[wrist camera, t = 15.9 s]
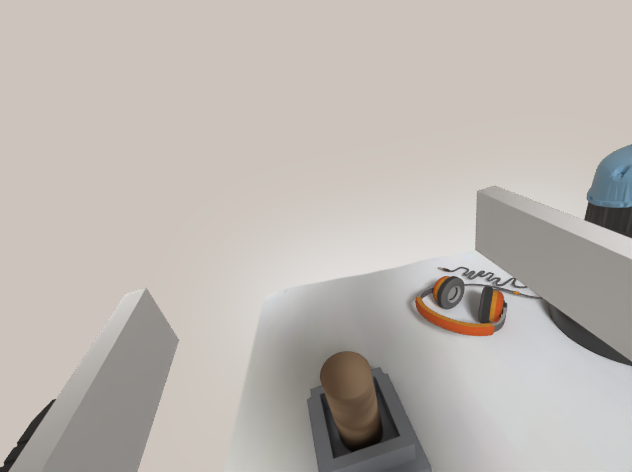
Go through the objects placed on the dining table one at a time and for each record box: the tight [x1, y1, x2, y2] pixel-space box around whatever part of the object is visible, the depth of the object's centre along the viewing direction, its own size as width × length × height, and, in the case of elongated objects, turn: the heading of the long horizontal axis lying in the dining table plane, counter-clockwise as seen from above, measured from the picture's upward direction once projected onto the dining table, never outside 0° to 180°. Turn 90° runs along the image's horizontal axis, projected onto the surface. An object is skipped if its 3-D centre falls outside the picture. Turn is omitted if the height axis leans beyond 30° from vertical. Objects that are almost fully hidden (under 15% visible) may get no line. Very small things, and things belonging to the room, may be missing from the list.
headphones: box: [415, 267, 544, 336], centre depth 46 cm, size 17×5×20 cm
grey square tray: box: [307, 367, 431, 472], centre depth 33 cm, size 11×11×4 cm
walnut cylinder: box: [320, 351, 383, 452], centre depth 31 cm, size 5×5×10 cm
